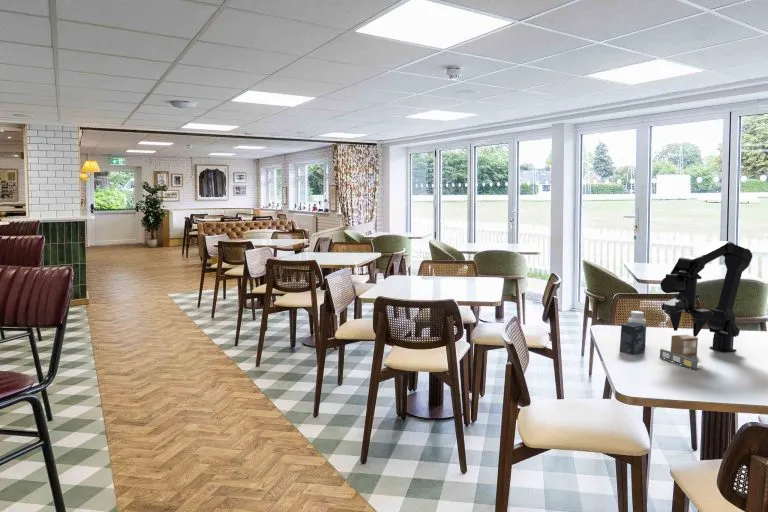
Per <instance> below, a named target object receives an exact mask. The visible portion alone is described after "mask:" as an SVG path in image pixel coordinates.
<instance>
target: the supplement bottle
mask: <svg viewBox="0 0 768 512" xmlns="http://www.w3.org/2000/svg"><path fill="white" fill-rule="evenodd" d="M630 316H631V317H628V319H627V323H631V322H636V323H641V324H645V325H646V326H647V319H645V318H644V316H645V312H644V311H640V310H631V311H630ZM645 342H646V339H645Z"/></svg>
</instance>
